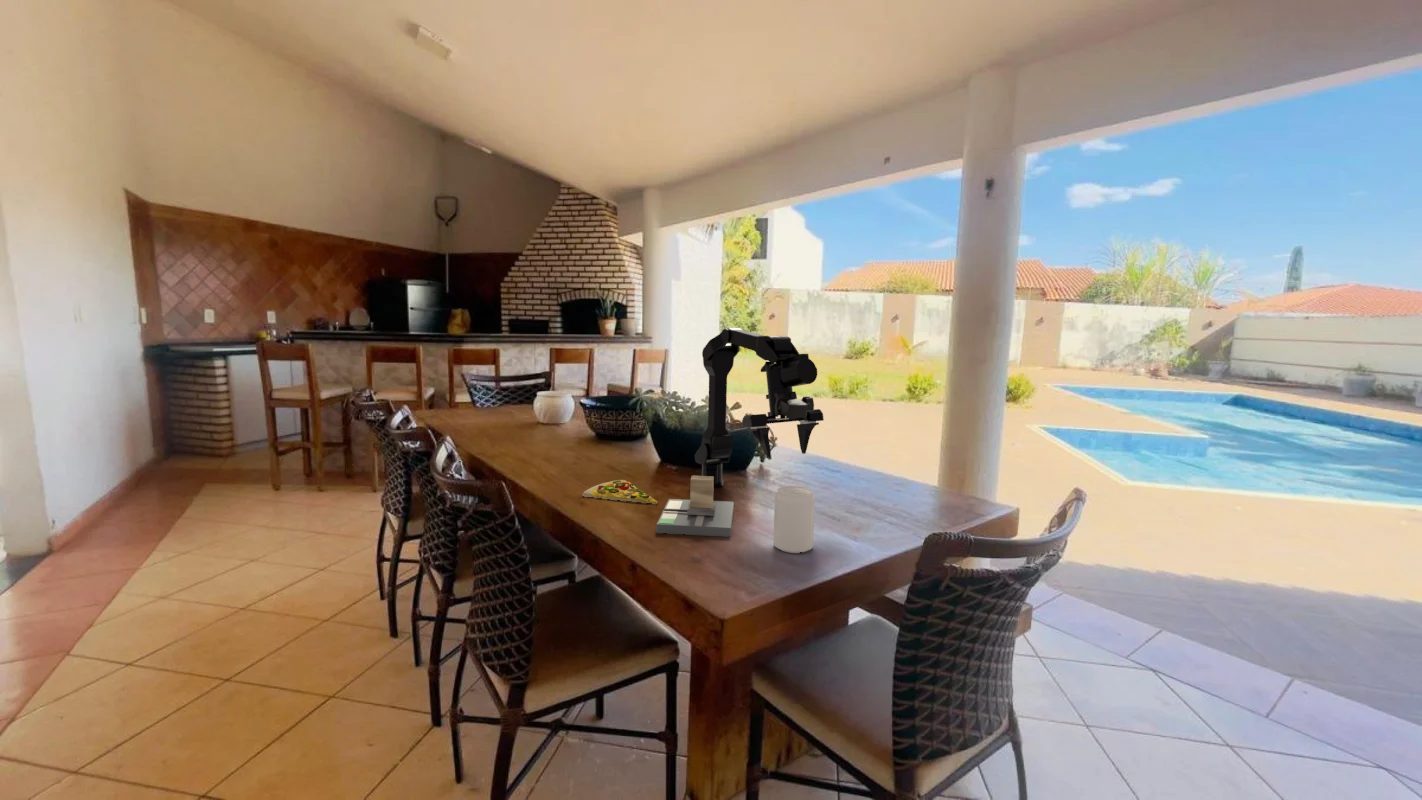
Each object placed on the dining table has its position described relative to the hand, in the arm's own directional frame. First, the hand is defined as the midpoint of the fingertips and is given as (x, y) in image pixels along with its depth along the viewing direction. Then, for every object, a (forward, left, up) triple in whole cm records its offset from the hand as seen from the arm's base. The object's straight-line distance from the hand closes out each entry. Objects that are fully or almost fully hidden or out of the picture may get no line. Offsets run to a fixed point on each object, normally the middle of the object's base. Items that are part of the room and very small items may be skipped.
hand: (786, 455), depth 133 cm
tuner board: (+5, -20, -15) cm, 26 cm away
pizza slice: (-11, -40, -16) cm, 44 cm away
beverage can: (+18, +1, -15) cm, 23 cm away
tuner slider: (+6, -22, -13) cm, 26 cm away
